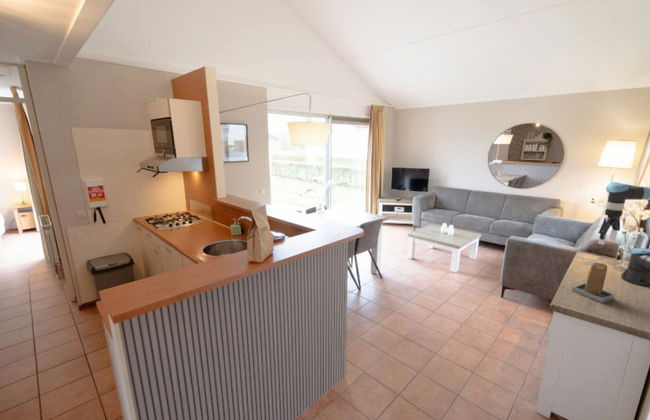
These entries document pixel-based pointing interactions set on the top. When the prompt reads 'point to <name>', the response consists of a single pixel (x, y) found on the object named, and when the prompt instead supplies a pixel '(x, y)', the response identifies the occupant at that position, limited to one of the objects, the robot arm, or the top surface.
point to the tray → (603, 297)
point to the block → (596, 279)
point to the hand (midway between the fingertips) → (606, 242)
